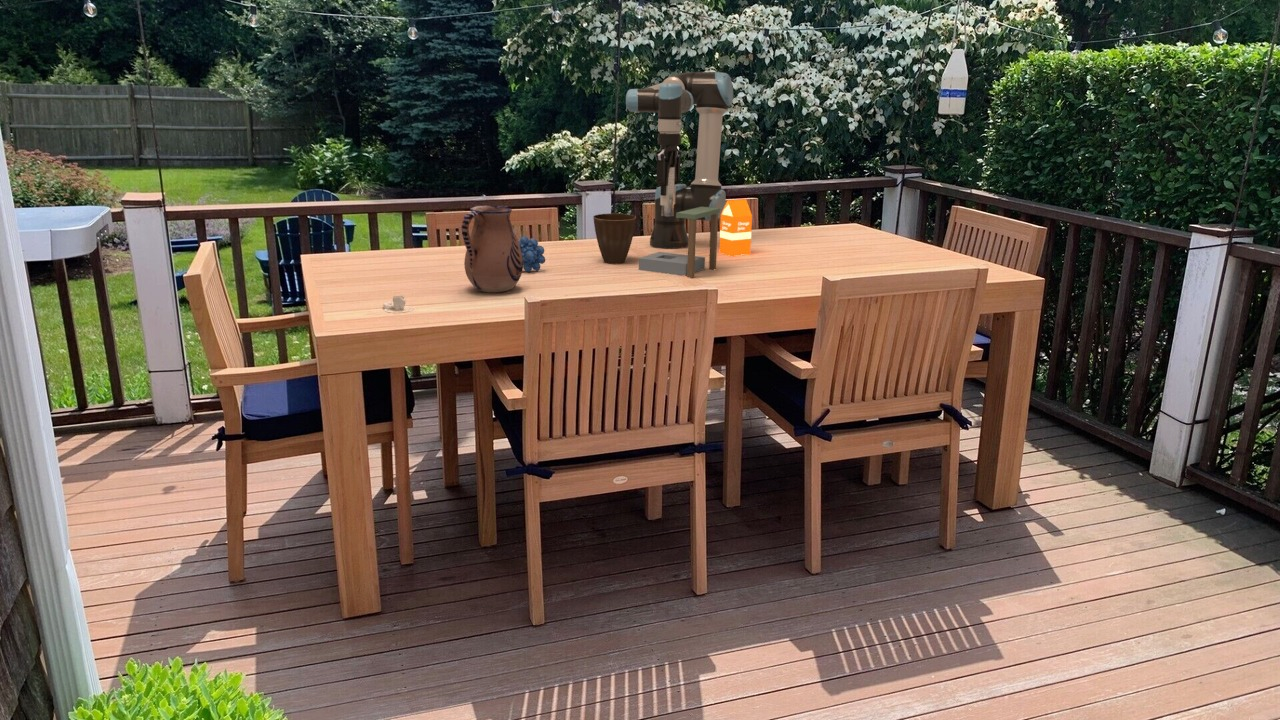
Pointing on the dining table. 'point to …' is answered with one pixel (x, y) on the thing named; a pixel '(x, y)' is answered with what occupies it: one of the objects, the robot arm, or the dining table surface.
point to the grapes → (531, 254)
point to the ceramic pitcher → (491, 249)
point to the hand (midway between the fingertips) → (667, 204)
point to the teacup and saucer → (396, 304)
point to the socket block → (669, 263)
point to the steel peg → (670, 194)
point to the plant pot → (614, 236)
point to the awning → (692, 217)
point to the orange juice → (735, 228)
